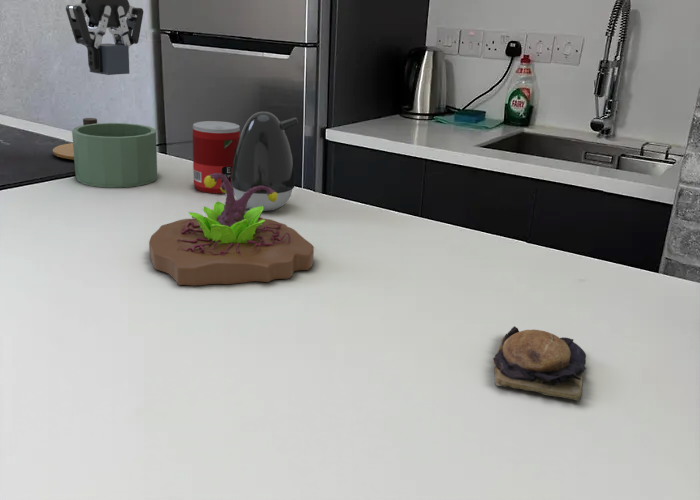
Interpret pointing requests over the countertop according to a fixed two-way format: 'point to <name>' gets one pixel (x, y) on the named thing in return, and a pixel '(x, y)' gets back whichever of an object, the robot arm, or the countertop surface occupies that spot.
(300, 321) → the countertop surface
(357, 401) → the countertop surface
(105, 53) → the block
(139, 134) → the tin
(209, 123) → the canned food
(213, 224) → the plant
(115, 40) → the robot arm
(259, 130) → the pump dispenser
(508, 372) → the toy sandwich
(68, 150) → the lid
